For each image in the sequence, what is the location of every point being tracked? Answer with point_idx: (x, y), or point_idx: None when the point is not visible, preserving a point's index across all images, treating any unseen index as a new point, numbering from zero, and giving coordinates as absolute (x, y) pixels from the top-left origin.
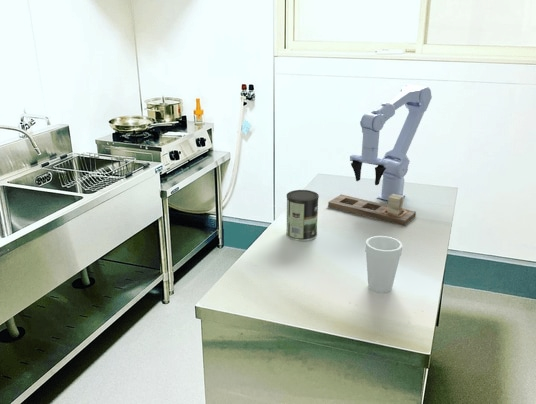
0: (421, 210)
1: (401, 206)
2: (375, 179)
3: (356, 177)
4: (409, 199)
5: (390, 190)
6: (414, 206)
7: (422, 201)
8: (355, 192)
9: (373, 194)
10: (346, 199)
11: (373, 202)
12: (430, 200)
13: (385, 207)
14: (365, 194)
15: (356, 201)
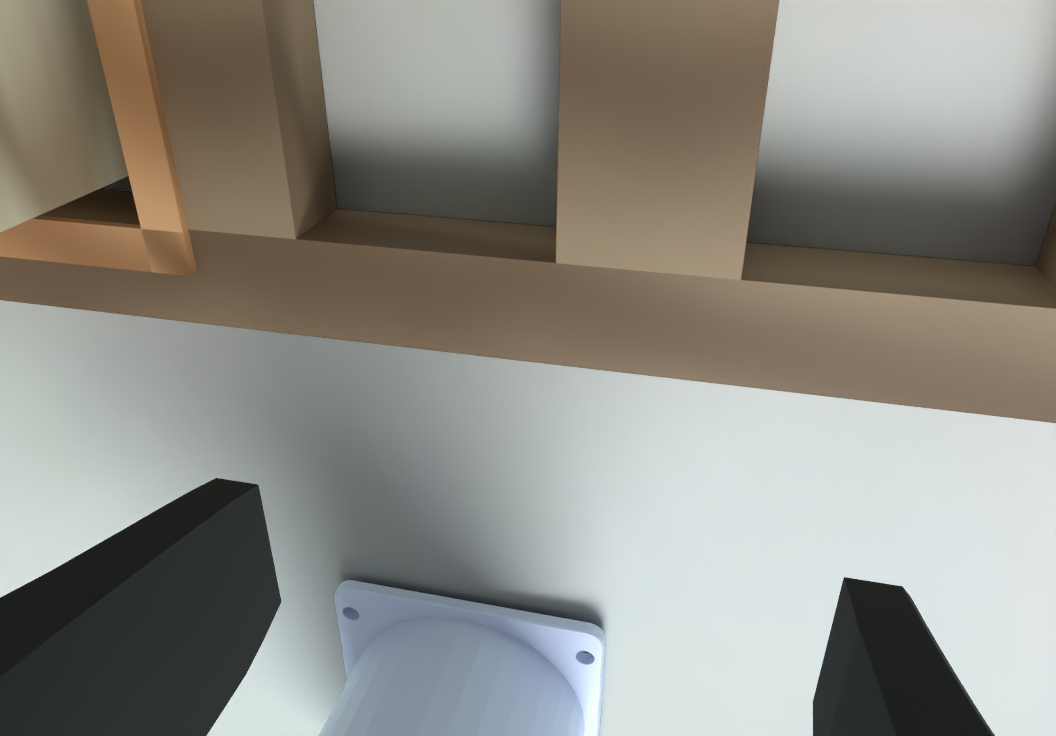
0: (19, 472)
1: None
2: (114, 578)
3: (912, 672)
4: (286, 701)
5: (380, 723)
6: None
7: None
8: None
9: (703, 722)
10: (1038, 292)
11: (477, 329)
12: None
13: (214, 212)
14: (806, 696)
15: (795, 273)
